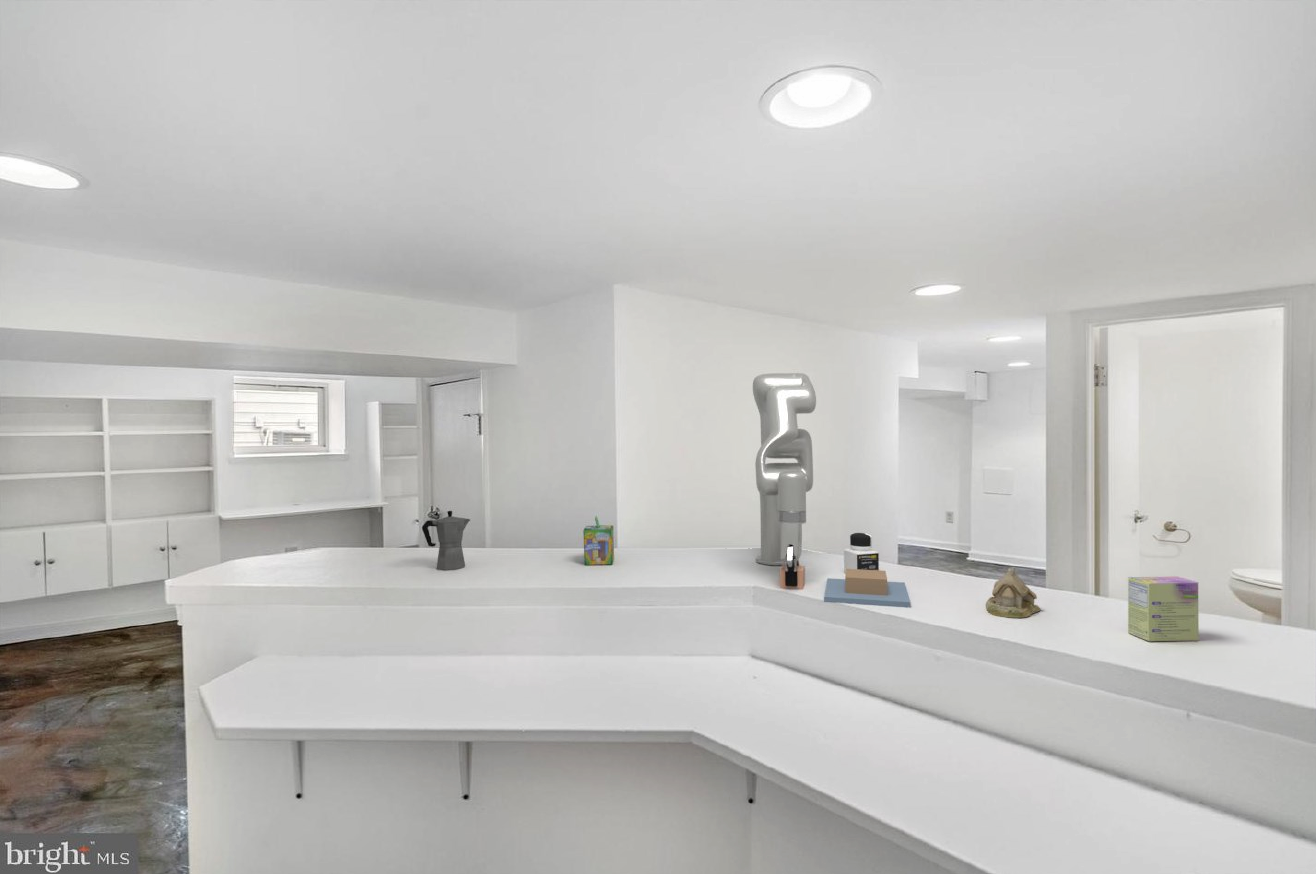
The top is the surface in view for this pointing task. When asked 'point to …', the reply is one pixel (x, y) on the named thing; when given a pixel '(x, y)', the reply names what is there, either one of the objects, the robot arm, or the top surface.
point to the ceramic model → (1011, 597)
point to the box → (1163, 608)
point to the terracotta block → (800, 576)
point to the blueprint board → (888, 600)
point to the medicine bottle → (861, 553)
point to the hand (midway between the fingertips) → (792, 582)
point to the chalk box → (598, 544)
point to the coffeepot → (448, 541)
